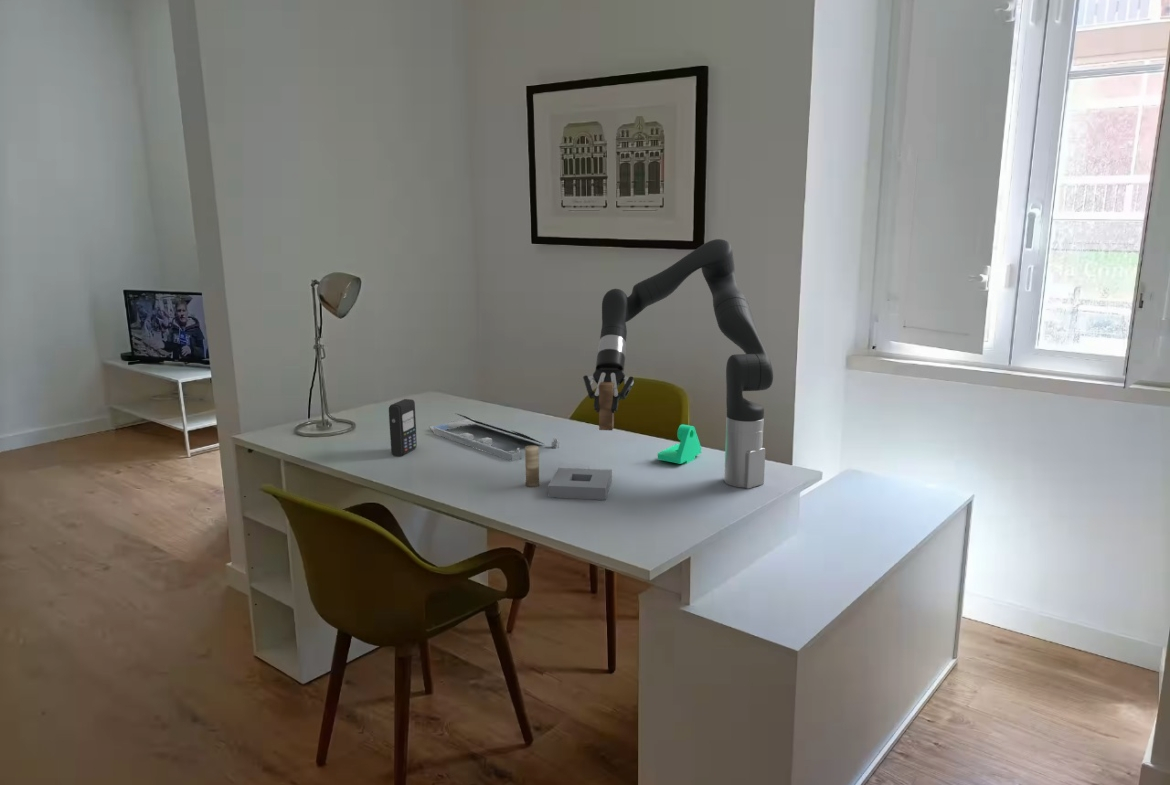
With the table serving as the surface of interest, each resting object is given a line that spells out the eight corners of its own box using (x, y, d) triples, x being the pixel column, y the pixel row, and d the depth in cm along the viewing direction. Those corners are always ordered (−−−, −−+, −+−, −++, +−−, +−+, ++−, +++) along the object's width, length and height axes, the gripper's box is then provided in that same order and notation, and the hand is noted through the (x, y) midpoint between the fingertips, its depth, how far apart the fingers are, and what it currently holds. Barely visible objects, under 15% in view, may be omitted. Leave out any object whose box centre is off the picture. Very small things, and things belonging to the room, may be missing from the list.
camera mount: (677, 452, 239) (677, 417, 237) (700, 456, 235) (701, 421, 233) (656, 462, 230) (656, 427, 227) (680, 467, 225) (681, 431, 223)
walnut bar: (613, 426, 218) (613, 382, 215) (612, 430, 215) (612, 385, 212) (600, 426, 218) (600, 382, 216) (599, 430, 215) (598, 384, 212)
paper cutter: (512, 462, 231) (511, 443, 230) (424, 431, 263) (423, 414, 262) (560, 449, 243) (560, 431, 242) (470, 421, 275) (470, 405, 274)
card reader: (402, 457, 235) (399, 406, 231) (389, 456, 236) (386, 405, 233) (418, 448, 243) (416, 399, 240) (406, 447, 244) (404, 398, 241)
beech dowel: (541, 485, 211) (541, 447, 209) (530, 488, 209) (529, 450, 207) (534, 481, 214) (533, 444, 212) (523, 484, 212) (522, 446, 210)
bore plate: (611, 481, 214) (611, 469, 214) (605, 499, 201) (605, 488, 200) (558, 478, 216) (558, 467, 216) (548, 497, 203) (548, 485, 202)
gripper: (638, 364, 224) (633, 419, 215) (586, 363, 226) (579, 417, 218) (636, 348, 218) (631, 404, 209) (583, 347, 220) (576, 402, 211)
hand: (605, 410), depth 213 cm, fingers closed on walnut bar, 3 cm apart
